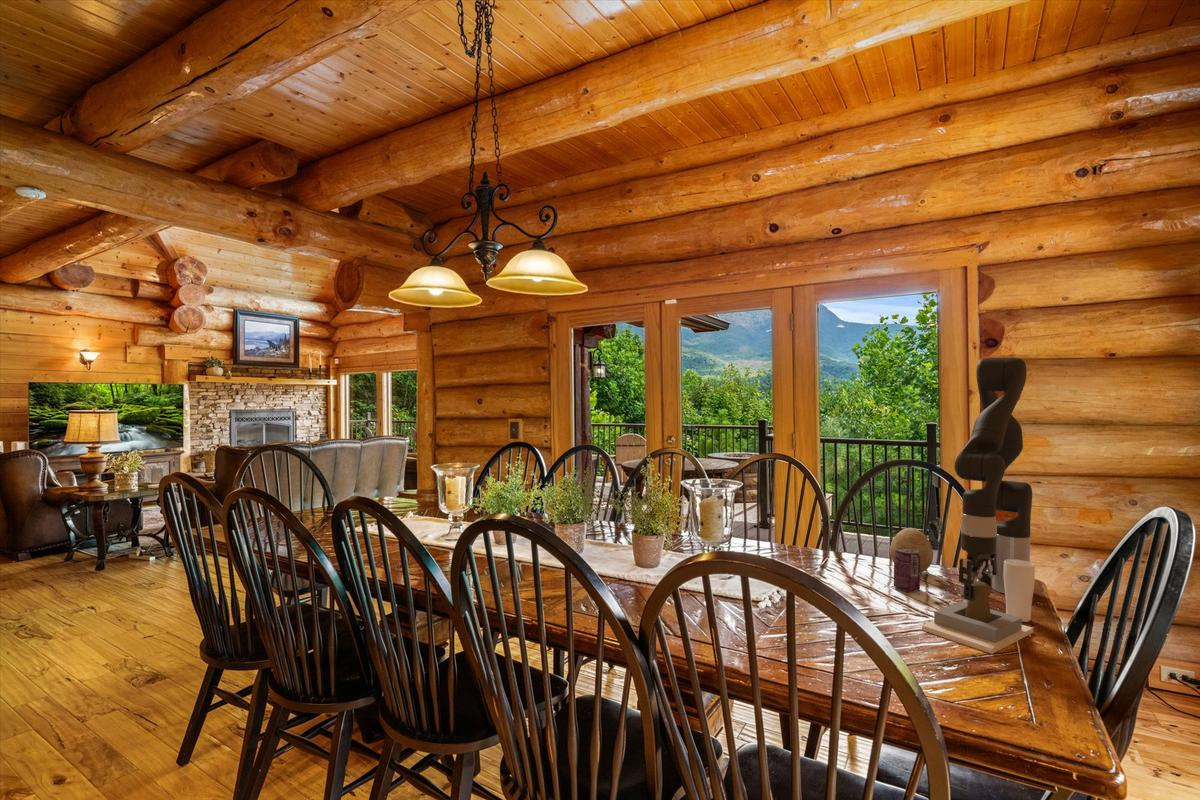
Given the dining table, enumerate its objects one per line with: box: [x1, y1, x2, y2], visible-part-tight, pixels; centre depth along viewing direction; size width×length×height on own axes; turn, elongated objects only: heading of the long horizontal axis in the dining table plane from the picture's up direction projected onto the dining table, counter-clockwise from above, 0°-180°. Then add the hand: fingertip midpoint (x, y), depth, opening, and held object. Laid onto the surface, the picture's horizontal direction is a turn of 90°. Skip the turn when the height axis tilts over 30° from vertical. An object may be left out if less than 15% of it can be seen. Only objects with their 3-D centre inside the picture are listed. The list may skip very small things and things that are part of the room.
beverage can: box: [893, 547, 921, 593], centre depth 180 cm, size 7×7×12 cm
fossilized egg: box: [889, 527, 934, 574], centre depth 196 cm, size 13×13×15 cm
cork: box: [965, 580, 992, 623], centre depth 149 cm, size 6×6×11 cm
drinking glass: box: [1004, 559, 1036, 623], centre depth 157 cm, size 7×7×15 cm
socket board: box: [921, 600, 1034, 655], centre depth 148 cm, size 22×16×4 cm
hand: (977, 596), depth 148 cm, fingers open, 8 cm apart
